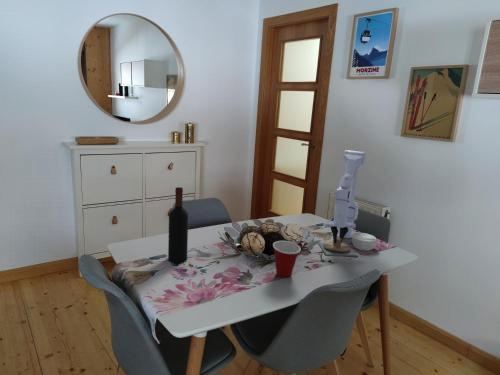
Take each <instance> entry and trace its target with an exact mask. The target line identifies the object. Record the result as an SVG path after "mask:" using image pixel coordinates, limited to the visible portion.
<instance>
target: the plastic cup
mask: <svg viewBox="0 0 500 375" xmlns="http://www.w3.org/2000/svg"><path fill="white" fill-rule="evenodd" d="M272 248H273V251H274V253H273V254H274V260H275V261H274V262H275V264H274V265H275V272H276V276H278V277H280V278H285V279H286V278H290V277H292V274H293V270H294V268H295V265H296V262H297V261H296V260H297V257H298V255H299V253H300V252H301V250H302V249H301V246H300V245H298V244H296V243H295V242H292V241H288V240H278V241H275V242H273V243H272Z"/></svg>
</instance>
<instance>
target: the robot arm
mask: <svg viewBox="0 0 500 375" xmlns="http://www.w3.org/2000/svg"><path fill="white" fill-rule="evenodd" d="M342 160H343V164H344V166H345V172H344V175H342V176H341V177H340V182H339V185H338V188H336V190H335V200H334V204H335V207H334V214H333V220H332V221H323V228H330V231H331V233H332V239H333V240H332V242H334V243H336V241H337V236H338V237H339V238H340V239H341V243H343V240H344V239H353V238H352V235H353V230H354V229H356V226H357V225H356V223H354V222H355V221H356V220H357V219H358V216H359V204H358V203H357V202H356V201H355V194H356V188H357V181H358V173H359V171H360V170H361V169H364V167H365V163H366V162H365V160H366V151H358V150H356V151H355V150H349V149H345V150H344V153H343V158H342Z"/></svg>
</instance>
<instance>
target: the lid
mask: <svg viewBox="0 0 500 375" xmlns="http://www.w3.org/2000/svg"><path fill="white" fill-rule="evenodd" d="M323 243H324V245H323V246H324V248H326V249H328V250H330V251H335V252H347V251H349V250H350V248H351V247H350V245H348V244H347V243H346V244H347V245H346V244H343V243H344V242H342V243H341V239H340V238H339V236H338V235H337V241H336V243H334V242H333V241H327V242H323Z"/></svg>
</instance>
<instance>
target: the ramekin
mask: <svg viewBox="0 0 500 375" xmlns="http://www.w3.org/2000/svg"><path fill="white" fill-rule="evenodd" d="M351 239H352V246H353V247H354V248H355V249H357V250H360V251H367V252H368V251H372V250H373V249H374V247H375V244H376V241H377V238H376V236H375V235H372V234H369V233H366V232H355V233H352V238H351Z"/></svg>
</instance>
